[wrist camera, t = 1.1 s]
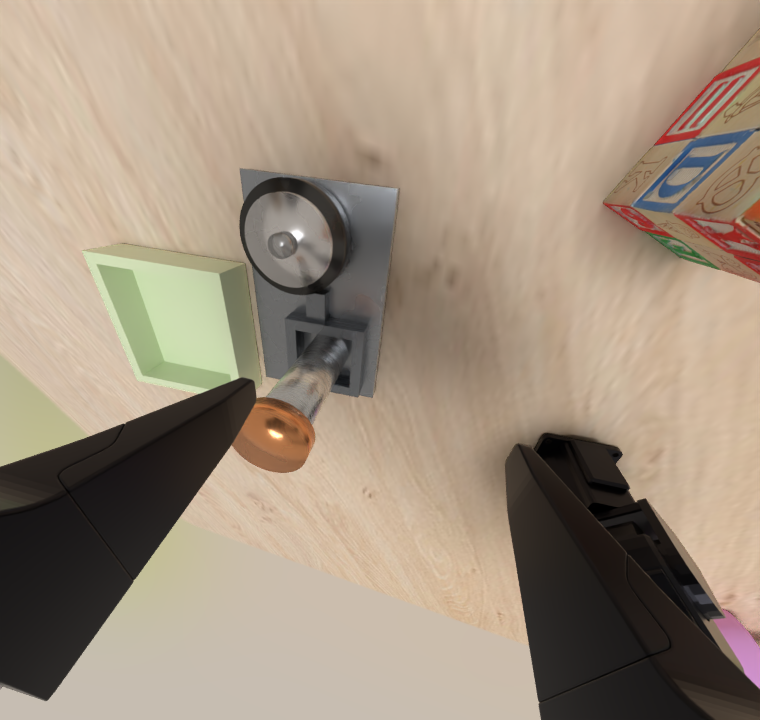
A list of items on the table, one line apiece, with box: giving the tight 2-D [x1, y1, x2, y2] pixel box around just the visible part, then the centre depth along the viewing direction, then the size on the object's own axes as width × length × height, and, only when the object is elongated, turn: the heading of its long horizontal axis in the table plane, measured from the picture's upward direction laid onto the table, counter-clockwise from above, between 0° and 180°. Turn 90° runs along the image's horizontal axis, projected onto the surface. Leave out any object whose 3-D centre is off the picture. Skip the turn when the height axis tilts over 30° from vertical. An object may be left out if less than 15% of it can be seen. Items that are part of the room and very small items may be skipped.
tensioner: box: [240, 168, 400, 398], centre depth 21 cm, size 16×10×4 cm, turn 174°
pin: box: [232, 335, 349, 473], centre depth 19 cm, size 4×4×10 cm
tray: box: [82, 243, 262, 394], centre depth 24 cm, size 12×11×3 cm
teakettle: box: [713, 609, 760, 689], centre depth 33 cm, size 17×17×12 cm
